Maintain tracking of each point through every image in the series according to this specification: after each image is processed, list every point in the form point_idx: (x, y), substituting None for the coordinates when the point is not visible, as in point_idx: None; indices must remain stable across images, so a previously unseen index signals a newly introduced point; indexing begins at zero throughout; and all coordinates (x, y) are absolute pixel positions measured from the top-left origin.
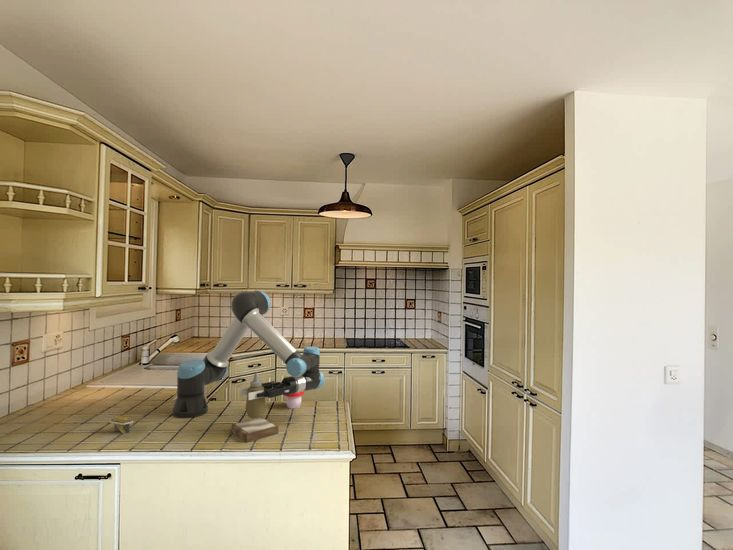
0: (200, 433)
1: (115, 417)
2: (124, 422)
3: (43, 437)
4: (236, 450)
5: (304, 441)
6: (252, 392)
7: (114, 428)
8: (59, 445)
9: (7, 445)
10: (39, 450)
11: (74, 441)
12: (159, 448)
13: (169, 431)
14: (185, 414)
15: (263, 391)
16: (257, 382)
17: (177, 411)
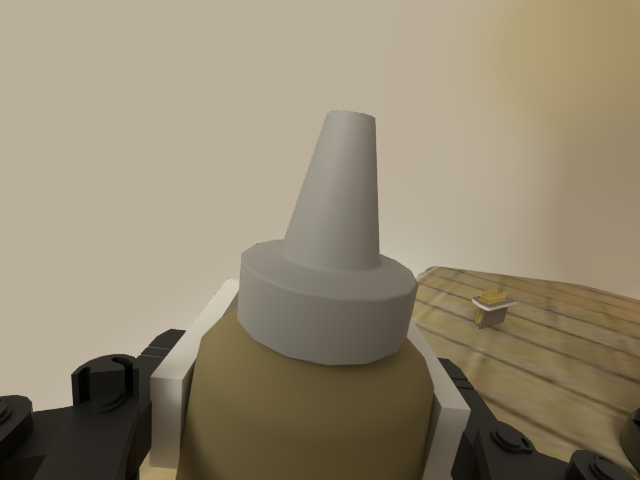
0: None
1: (496, 290)
2: (478, 299)
3: (479, 282)
4: None
5: None
6: (225, 295)
7: (502, 318)
8: (439, 282)
9: (457, 269)
10: (428, 273)
11: (451, 290)
12: None
13: (466, 371)
14: (628, 435)
15: (153, 385)
16: (272, 247)
17: (636, 410)
